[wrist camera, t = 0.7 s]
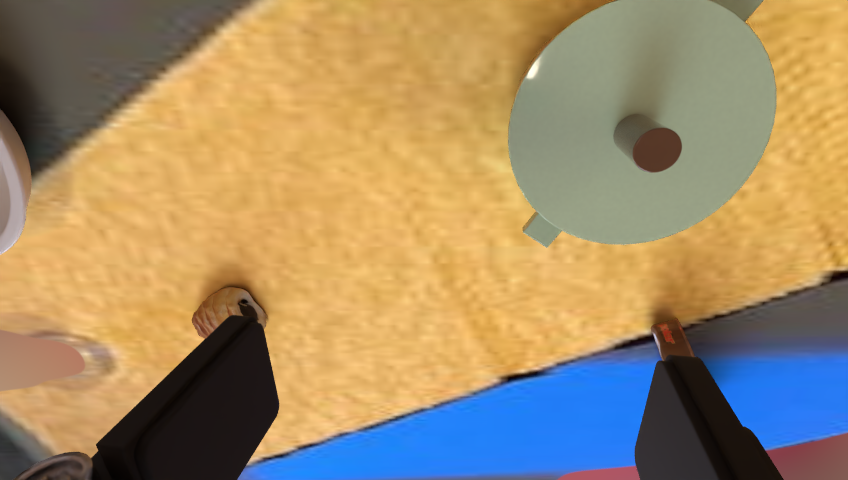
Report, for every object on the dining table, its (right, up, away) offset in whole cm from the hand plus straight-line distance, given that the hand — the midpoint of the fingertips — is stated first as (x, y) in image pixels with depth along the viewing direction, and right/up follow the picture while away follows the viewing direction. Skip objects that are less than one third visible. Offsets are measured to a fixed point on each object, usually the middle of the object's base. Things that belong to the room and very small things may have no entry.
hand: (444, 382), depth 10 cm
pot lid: (+14, +11, +19) cm, 26 cm away
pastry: (-24, -5, +43) cm, 50 cm away
